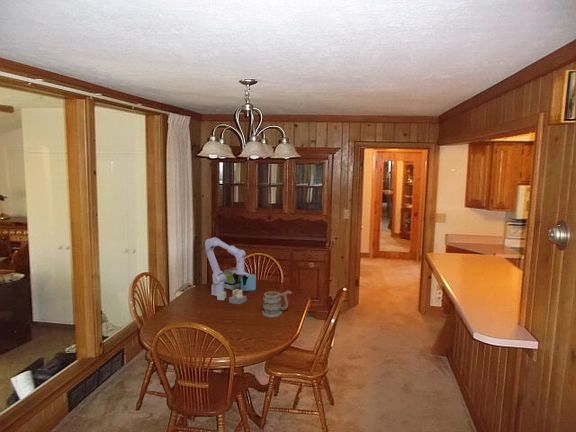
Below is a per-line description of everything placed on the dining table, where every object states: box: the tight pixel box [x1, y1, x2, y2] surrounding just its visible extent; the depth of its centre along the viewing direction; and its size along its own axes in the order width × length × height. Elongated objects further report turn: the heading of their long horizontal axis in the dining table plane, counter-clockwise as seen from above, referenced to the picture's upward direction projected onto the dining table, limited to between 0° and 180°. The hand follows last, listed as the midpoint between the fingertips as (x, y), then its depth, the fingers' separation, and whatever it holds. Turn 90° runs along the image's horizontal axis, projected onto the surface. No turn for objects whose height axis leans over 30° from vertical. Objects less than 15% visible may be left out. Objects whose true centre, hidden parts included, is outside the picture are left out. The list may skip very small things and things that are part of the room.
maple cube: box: [232, 288, 243, 298], centre depth 299 cm, size 5×5×5 cm
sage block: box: [216, 290, 227, 301], centre depth 306 cm, size 5×5×5 cm
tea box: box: [223, 266, 246, 291], centre depth 335 cm, size 15×10×15 cm
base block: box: [228, 294, 247, 305], centre depth 300 cm, size 9×9×4 cm
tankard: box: [261, 290, 293, 318], centre depth 277 cm, size 20×13×15 cm, turn 105°
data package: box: [239, 273, 257, 292], centre depth 328 cm, size 12×4×12 cm, turn 101°
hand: (240, 284), depth 308 cm, fingers open, 7 cm apart
